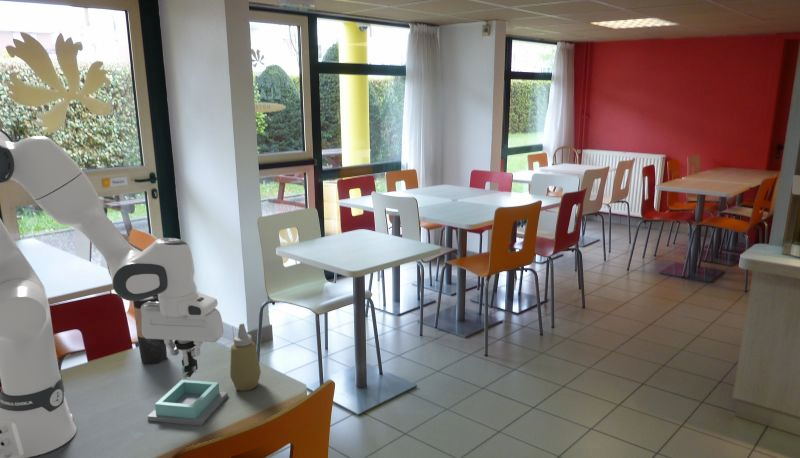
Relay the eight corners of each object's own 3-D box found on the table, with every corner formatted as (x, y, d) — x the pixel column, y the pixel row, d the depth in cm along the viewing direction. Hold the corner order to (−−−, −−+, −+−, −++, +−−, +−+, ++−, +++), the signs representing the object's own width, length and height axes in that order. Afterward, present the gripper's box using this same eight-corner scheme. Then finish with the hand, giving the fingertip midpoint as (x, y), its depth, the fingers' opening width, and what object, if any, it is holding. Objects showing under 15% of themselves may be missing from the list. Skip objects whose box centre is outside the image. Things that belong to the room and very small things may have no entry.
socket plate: (148, 420, 141) (146, 405, 140) (178, 391, 154) (177, 377, 153) (201, 425, 139) (199, 409, 138) (227, 396, 152) (226, 381, 151)
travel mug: (172, 353, 177) (165, 292, 172) (159, 365, 170) (152, 301, 165) (148, 353, 178) (141, 291, 173) (135, 364, 170) (127, 300, 166)
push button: (194, 380, 141) (190, 343, 139) (173, 381, 141) (168, 343, 139) (203, 367, 148) (199, 331, 145) (183, 368, 148) (178, 332, 146)
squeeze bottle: (243, 396, 152) (238, 333, 147) (224, 387, 156) (219, 325, 152) (267, 384, 158) (263, 323, 154) (248, 376, 163) (244, 316, 158)
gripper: (132, 306, 139) (140, 358, 142) (210, 309, 135) (217, 363, 138) (147, 296, 145) (154, 347, 148) (223, 299, 141) (229, 351, 145)
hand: (185, 355), depth 143 cm, fingers closed on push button, 4 cm apart
